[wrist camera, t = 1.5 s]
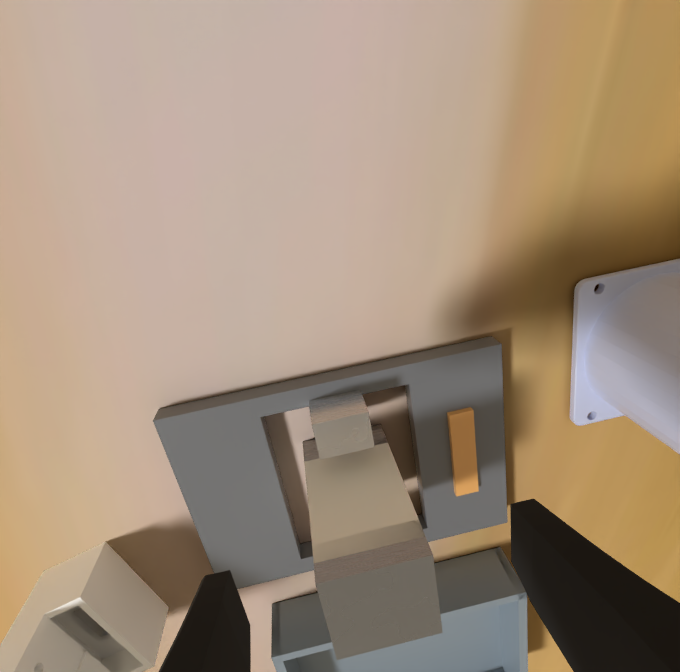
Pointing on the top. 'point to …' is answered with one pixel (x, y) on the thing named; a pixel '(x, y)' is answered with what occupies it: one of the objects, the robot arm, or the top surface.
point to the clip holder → (340, 452)
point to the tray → (433, 651)
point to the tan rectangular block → (369, 551)
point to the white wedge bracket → (86, 619)
